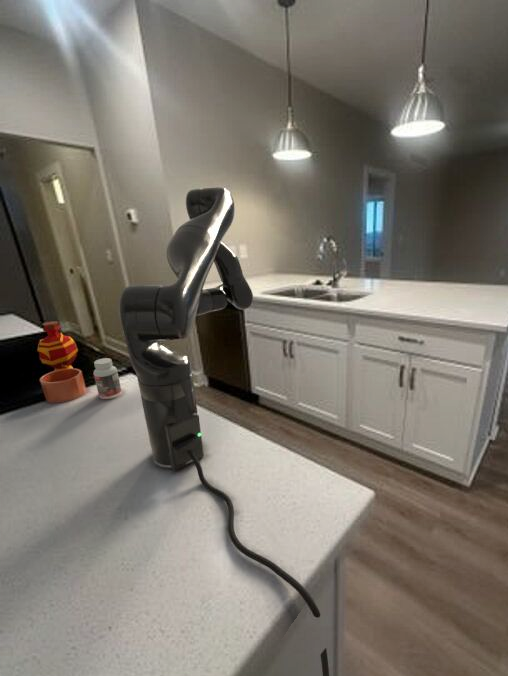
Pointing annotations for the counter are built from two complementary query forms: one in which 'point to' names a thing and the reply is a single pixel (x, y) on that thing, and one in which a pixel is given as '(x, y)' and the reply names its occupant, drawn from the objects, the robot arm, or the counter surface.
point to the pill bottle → (106, 379)
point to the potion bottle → (56, 348)
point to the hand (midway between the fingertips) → (138, 313)
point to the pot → (63, 385)
